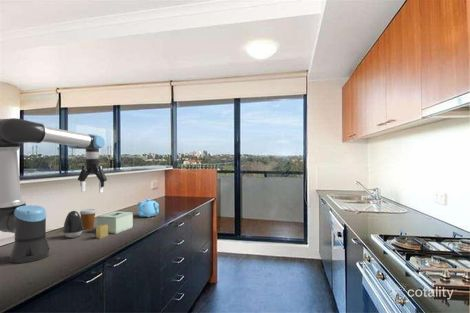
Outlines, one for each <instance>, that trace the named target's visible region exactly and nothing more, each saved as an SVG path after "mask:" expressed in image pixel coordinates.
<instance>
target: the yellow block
mask: <svg viewBox="0 0 470 313" xmlns="http://www.w3.org/2000/svg"><path fill="white" fill-rule="evenodd" d="M106 236H107V237H108V236H109V233H108V224H102V225H99V226H97V225H96V226H95V239H97V238H98V239H99V240H101V239H104V238H106ZM98 239H97V240H98Z"/></svg>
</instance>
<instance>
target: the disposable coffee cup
mask: <svg viewBox="0 0 470 313" xmlns="http://www.w3.org/2000/svg"><path fill="white" fill-rule="evenodd" d="M96 212H97V211H96V209H95V208H84V209H81V210H80V211H79V215H80V217H81V220H82V224H83V230H86V231H87V230H92V229H94V225H95V217H96Z"/></svg>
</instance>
